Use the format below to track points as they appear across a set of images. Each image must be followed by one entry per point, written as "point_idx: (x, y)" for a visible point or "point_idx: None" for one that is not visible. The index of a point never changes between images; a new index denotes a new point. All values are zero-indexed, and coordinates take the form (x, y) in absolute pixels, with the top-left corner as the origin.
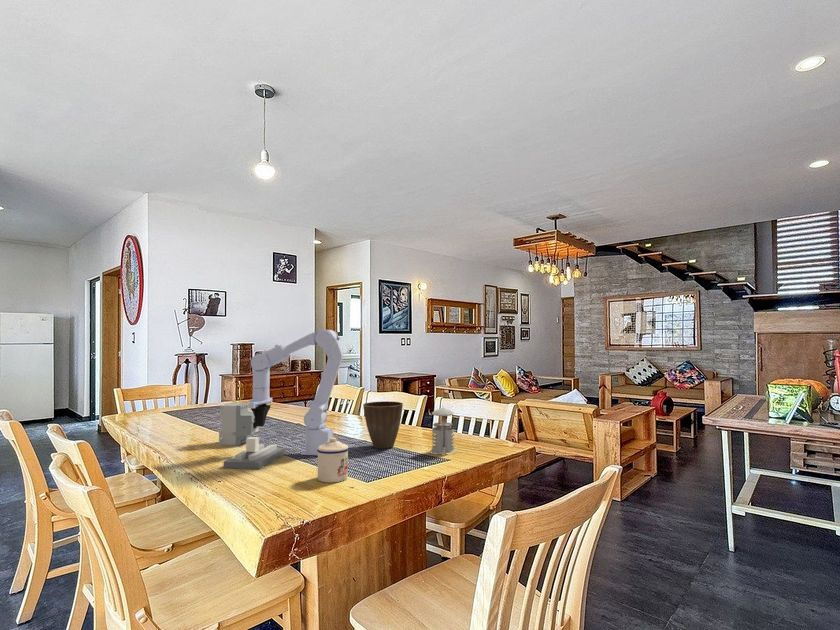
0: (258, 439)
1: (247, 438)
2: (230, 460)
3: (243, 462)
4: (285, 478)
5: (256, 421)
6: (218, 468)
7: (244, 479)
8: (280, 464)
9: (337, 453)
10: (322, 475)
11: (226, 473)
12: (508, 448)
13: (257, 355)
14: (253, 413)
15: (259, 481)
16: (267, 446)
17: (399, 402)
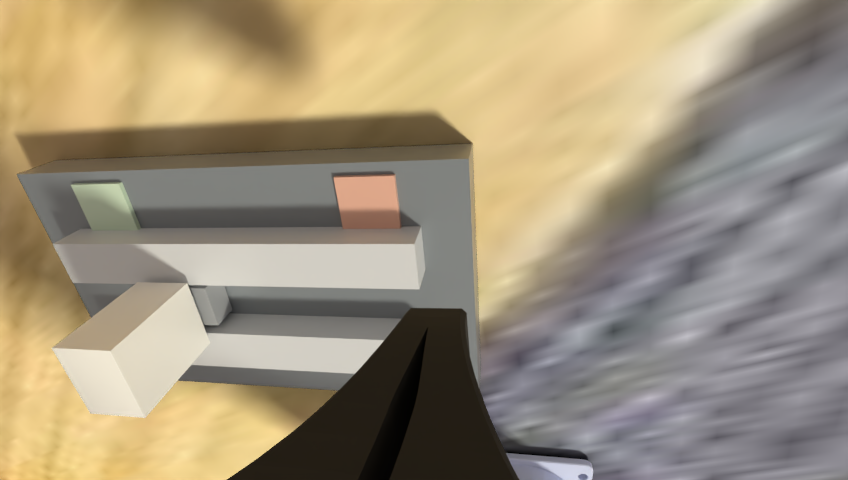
0: (149, 404)
1: (60, 355)
2: (57, 207)
3: (83, 298)
4: (113, 472)
5: (378, 355)
6: (31, 135)
7: (12, 355)
8: (258, 408)
9: None
10: None
11: (8, 239)
12: None
13: None
14: (259, 457)
15: (35, 411)
16: (351, 340)
17: None
